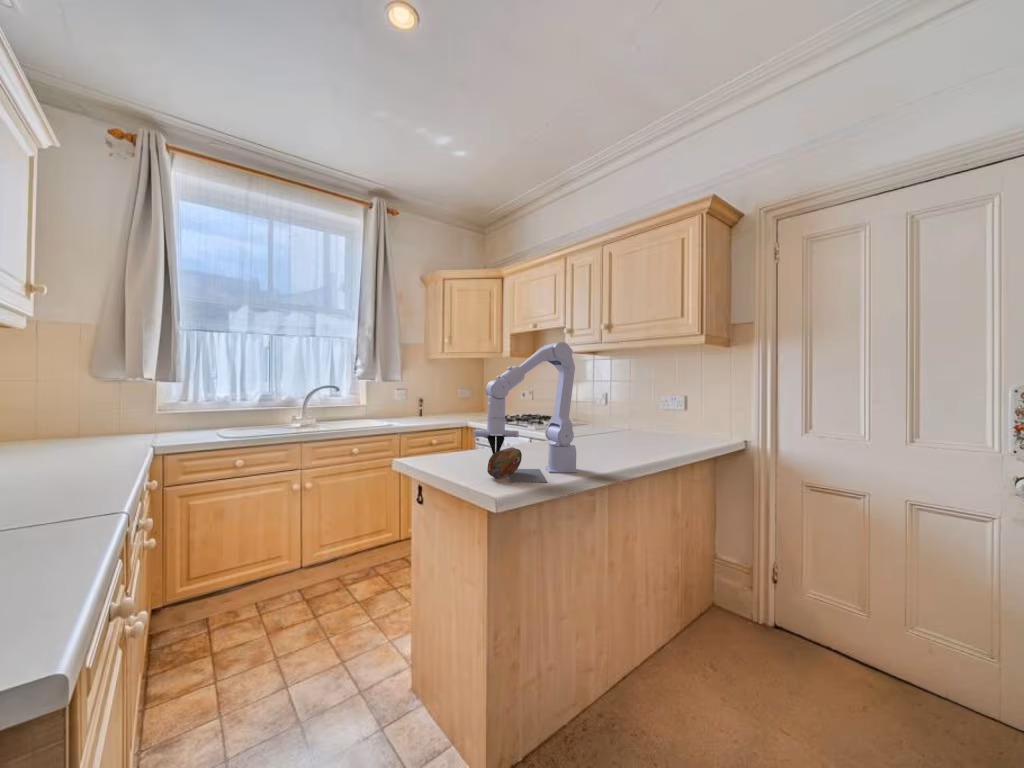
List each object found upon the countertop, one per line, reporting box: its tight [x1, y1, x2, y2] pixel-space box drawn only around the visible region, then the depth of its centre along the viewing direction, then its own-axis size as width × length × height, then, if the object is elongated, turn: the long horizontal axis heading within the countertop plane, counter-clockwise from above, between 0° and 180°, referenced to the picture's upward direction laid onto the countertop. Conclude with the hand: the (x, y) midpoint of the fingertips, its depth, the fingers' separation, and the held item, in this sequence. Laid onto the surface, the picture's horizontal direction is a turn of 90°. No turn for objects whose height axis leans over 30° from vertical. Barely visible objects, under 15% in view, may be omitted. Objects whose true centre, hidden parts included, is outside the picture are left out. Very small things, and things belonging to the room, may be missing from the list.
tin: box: [486, 446, 523, 480], centre depth 133 cm, size 15×3×8 cm, turn 143°
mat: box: [508, 468, 548, 484], centre depth 134 cm, size 11×17×1 cm, turn 4°
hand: (495, 459), depth 133 cm, fingers closed
